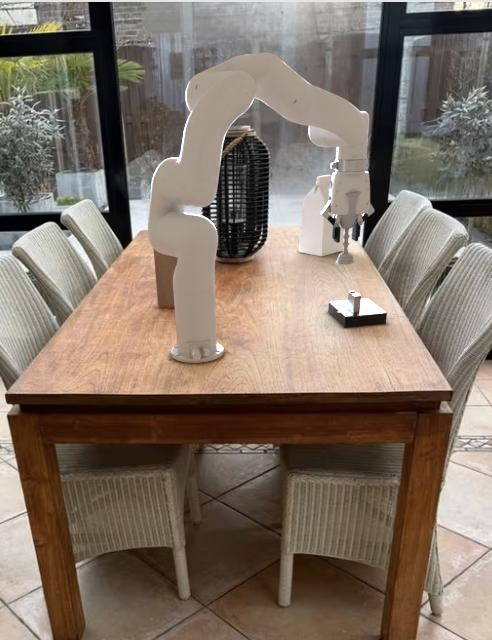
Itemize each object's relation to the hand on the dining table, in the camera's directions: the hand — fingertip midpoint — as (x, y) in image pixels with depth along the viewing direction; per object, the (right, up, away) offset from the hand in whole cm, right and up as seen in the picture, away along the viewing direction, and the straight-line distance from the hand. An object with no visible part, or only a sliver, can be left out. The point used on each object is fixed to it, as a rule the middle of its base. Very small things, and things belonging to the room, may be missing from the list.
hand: (345, 240), depth 176 cm
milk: (+7, +20, +70) cm, 73 cm away
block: (-46, -12, +19) cm, 51 cm away
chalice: (0, -5, +3) cm, 6 cm away
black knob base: (+2, -21, -1) cm, 22 cm away
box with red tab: (+1, -20, -6) cm, 21 cm away
